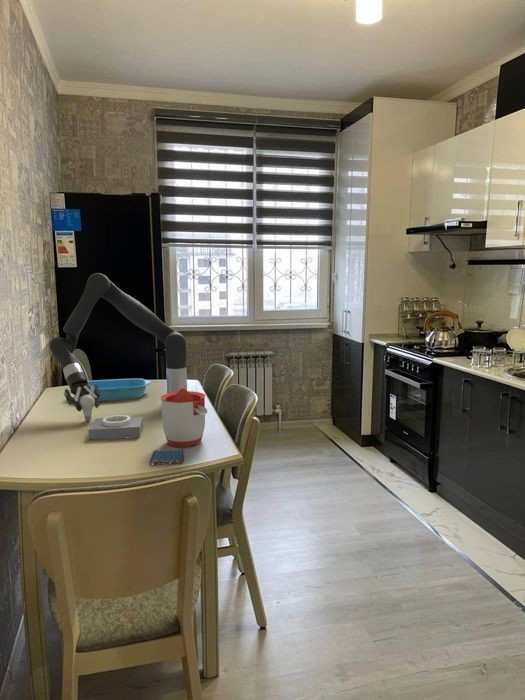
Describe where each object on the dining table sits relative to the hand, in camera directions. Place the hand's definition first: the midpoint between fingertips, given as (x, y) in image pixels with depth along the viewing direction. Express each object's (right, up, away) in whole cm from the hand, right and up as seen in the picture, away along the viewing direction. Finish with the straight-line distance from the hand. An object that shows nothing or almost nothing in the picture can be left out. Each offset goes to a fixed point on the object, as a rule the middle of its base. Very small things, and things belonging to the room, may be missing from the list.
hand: (89, 408), depth 201 cm
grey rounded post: (-1, -6, +2) cm, 6 cm away
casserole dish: (-4, 0, +44) cm, 44 cm away
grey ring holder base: (+15, -8, -13) cm, 22 cm away
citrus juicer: (+44, -9, -25) cm, 51 cm away
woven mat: (+40, -12, -41) cm, 58 cm away
